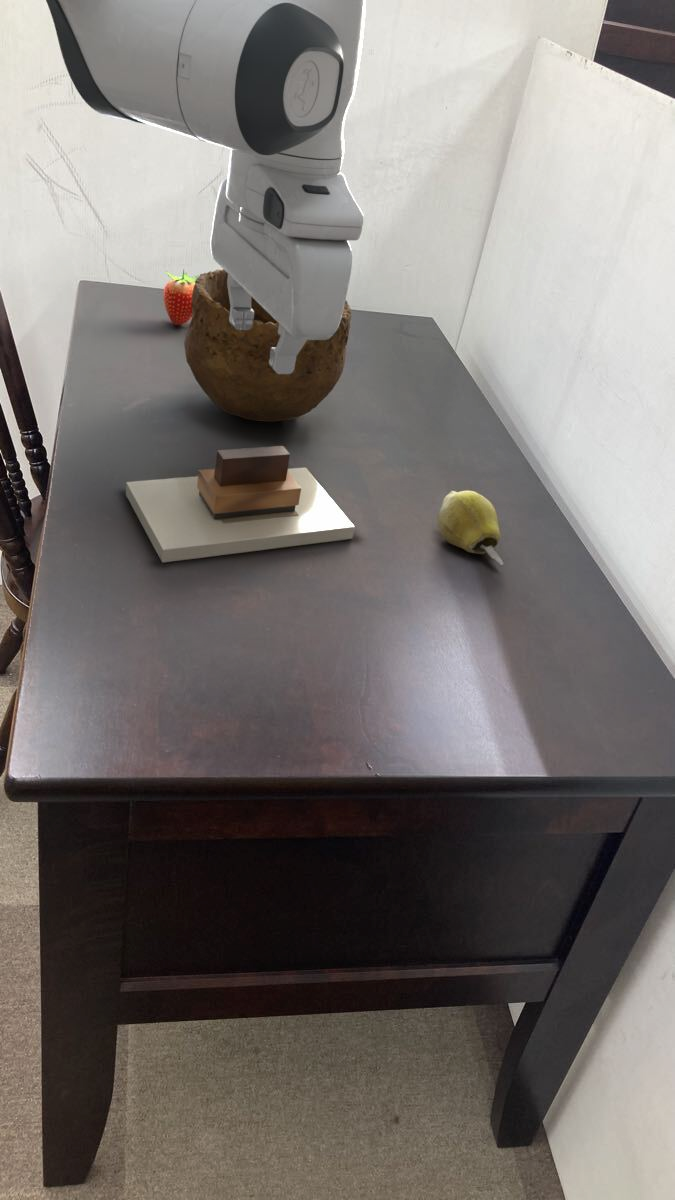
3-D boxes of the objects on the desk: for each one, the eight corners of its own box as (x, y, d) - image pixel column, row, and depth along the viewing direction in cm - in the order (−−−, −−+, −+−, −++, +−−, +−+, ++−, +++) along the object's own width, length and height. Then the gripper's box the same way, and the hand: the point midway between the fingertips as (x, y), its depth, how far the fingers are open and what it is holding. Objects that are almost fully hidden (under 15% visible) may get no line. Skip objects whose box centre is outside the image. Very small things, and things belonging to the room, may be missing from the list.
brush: (213, 521, 86) (219, 468, 83) (196, 494, 89) (201, 442, 86) (297, 512, 90) (306, 461, 87) (278, 486, 93) (285, 437, 90)
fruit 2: (477, 581, 89) (414, 519, 93) (508, 579, 93) (446, 519, 98) (510, 536, 86) (443, 474, 91) (540, 535, 91) (475, 477, 95)
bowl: (339, 397, 118) (361, 284, 109) (323, 462, 103) (347, 338, 94) (199, 367, 117) (210, 252, 108) (163, 429, 102) (172, 300, 93)
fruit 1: (174, 315, 130) (177, 259, 125) (204, 325, 129) (210, 270, 124) (153, 324, 126) (157, 267, 121) (185, 335, 125) (190, 278, 120)
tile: (162, 563, 82) (163, 548, 81) (125, 494, 90) (126, 481, 89) (352, 539, 91) (355, 525, 90) (303, 478, 99) (306, 466, 98)
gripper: (201, 146, 77) (187, 303, 85) (299, 220, 63) (271, 399, 72) (268, 153, 80) (248, 304, 88) (375, 225, 66) (340, 397, 74)
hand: (259, 348), depth 80 cm, fingers open, 8 cm apart
